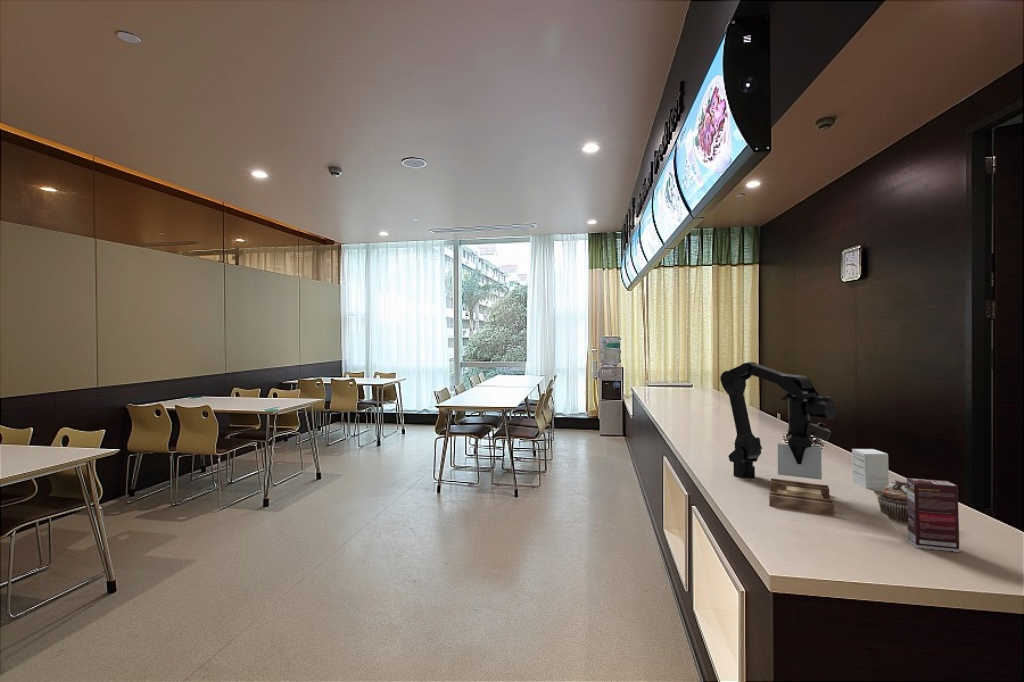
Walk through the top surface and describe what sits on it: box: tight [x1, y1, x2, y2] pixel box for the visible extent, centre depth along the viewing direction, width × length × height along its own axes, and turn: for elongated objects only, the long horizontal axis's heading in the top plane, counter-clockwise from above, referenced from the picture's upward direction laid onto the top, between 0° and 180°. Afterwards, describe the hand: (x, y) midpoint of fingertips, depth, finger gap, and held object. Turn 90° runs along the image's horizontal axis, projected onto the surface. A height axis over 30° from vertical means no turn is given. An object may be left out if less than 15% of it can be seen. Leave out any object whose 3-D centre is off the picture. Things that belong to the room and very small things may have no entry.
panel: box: [777, 442, 823, 481], centre depth 152 cm, size 12×2×10 cm, turn 60°
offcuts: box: [777, 486, 823, 498], centre depth 146 cm, size 12×5×3 cm, turn 60°
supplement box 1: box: [851, 448, 890, 492], centre depth 159 cm, size 7×7×13 cm
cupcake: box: [877, 479, 907, 523], centre depth 134 cm, size 10×10×10 cm
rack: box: [768, 477, 835, 516], centre depth 146 cm, size 16×20×4 cm
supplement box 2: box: [906, 477, 960, 553], centre depth 115 cm, size 9×5×16 cm, turn 71°
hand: (799, 463), depth 152 cm, fingers closed on panel, 2 cm apart
